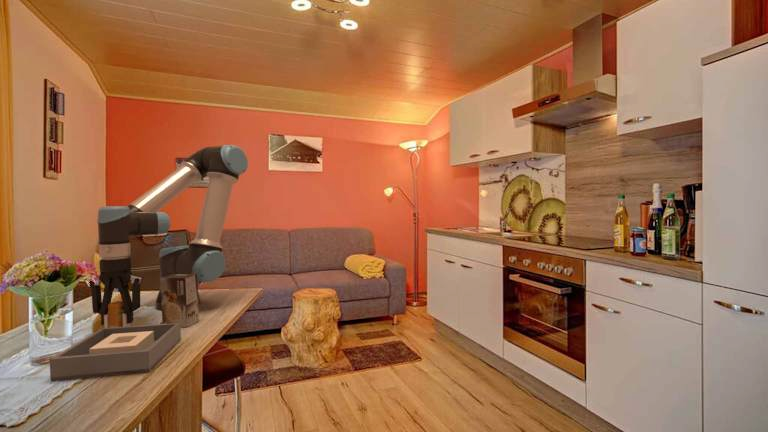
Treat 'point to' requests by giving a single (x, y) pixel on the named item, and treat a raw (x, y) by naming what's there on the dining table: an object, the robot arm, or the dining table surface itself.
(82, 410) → the dining table surface
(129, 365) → the walled box
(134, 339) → the socket block
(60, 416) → the dining table surface
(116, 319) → the supplement box
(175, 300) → the coffee box
